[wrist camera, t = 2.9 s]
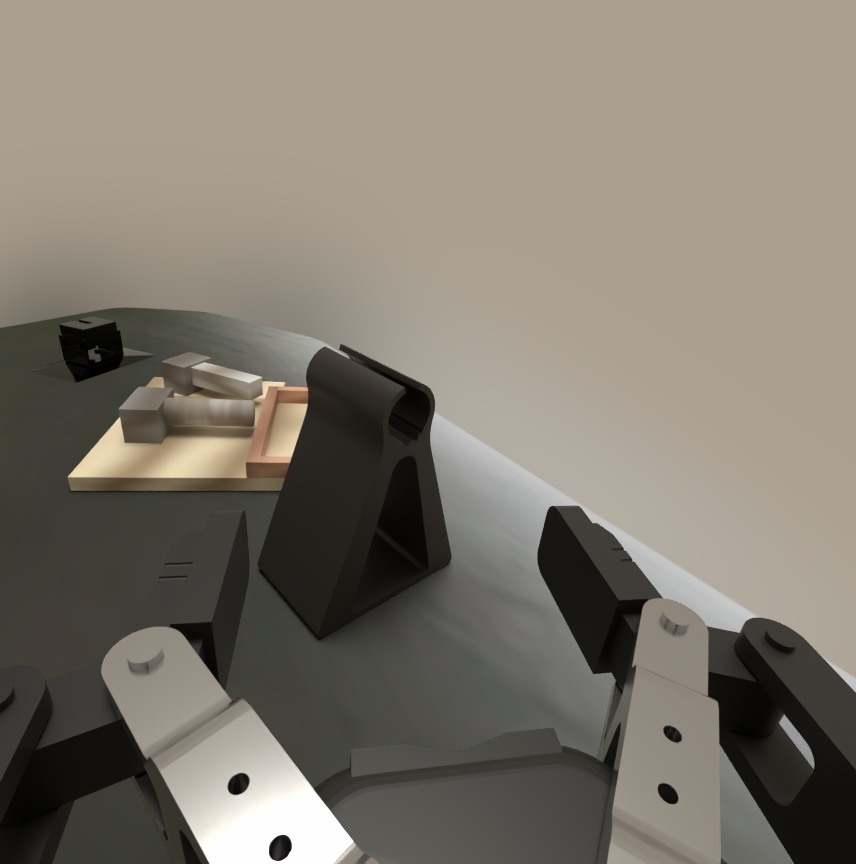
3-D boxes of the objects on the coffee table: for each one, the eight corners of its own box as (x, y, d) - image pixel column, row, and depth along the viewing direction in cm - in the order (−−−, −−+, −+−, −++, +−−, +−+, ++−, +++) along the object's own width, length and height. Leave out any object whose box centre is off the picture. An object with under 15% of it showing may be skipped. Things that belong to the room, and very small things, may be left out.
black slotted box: (119, 345, 56) (112, 304, 54) (174, 357, 55) (168, 316, 53) (6, 380, 46) (-8, 331, 44) (70, 396, 44) (58, 346, 42)
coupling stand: (71, 490, 31) (58, 440, 30) (155, 387, 46) (150, 349, 45) (399, 490, 35) (403, 445, 34) (380, 395, 50) (382, 361, 49)
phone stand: (386, 512, 33) (402, 334, 28) (451, 563, 29) (483, 369, 24) (257, 569, 27) (245, 357, 22) (317, 641, 23) (320, 408, 18)
